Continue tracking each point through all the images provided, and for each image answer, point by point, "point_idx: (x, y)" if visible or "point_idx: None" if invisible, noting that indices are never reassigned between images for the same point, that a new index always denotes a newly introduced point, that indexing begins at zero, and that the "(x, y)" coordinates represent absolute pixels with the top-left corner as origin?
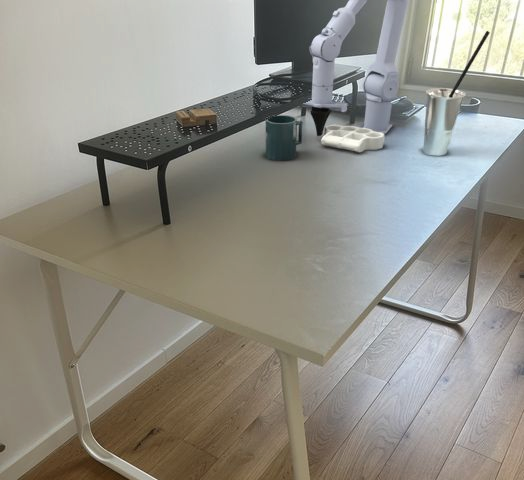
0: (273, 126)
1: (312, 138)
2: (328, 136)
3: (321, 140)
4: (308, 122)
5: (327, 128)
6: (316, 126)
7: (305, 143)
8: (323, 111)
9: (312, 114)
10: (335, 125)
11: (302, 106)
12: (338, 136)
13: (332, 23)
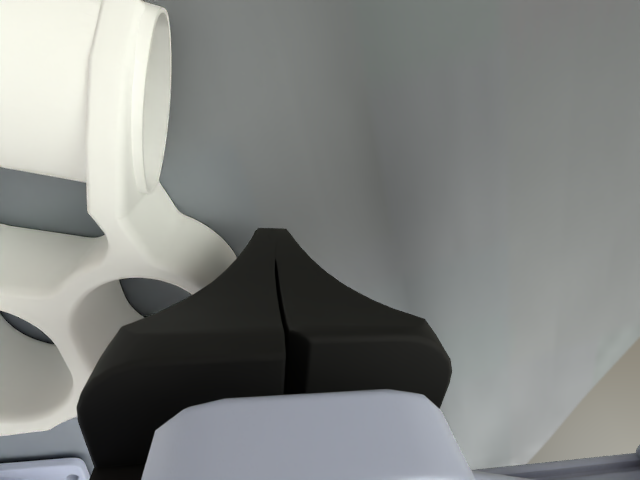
0: None
1: (332, 255)
2: (69, 70)
3: (154, 9)
4: None
5: None
6: (300, 257)
7: (359, 118)
8: (175, 410)
9: (392, 319)
10: None
11: (608, 462)
12: (81, 259)
13: None
